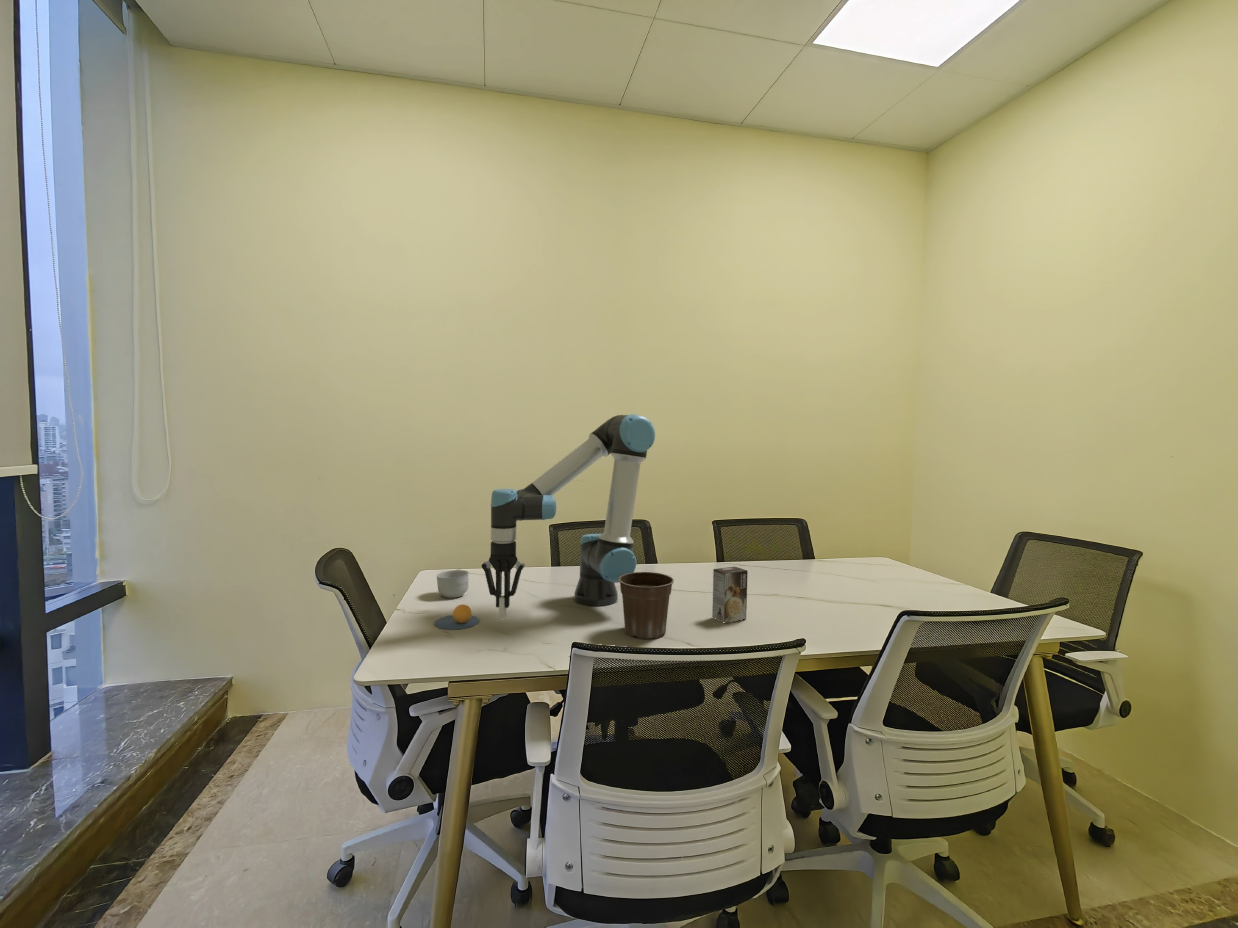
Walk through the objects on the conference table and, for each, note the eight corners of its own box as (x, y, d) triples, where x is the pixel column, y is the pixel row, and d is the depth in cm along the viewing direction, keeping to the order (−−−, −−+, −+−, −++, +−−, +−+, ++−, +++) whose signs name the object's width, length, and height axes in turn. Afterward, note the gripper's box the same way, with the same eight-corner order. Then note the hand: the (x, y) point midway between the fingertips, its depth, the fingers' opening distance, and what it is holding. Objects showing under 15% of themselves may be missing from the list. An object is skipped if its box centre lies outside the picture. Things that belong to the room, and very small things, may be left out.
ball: (463, 623, 178) (477, 612, 177) (458, 629, 172) (472, 618, 172) (452, 609, 178) (466, 598, 177) (446, 614, 172) (460, 603, 172)
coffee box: (734, 613, 190) (735, 565, 188) (746, 619, 184) (748, 570, 183) (711, 617, 185) (713, 568, 184) (723, 623, 180) (725, 573, 179)
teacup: (459, 601, 196) (459, 578, 195) (430, 598, 198) (430, 575, 197) (477, 590, 209) (477, 568, 209) (450, 587, 212) (450, 566, 211)
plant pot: (631, 645, 160) (632, 588, 159) (608, 626, 175) (610, 574, 174) (682, 638, 167) (683, 583, 166) (656, 620, 181) (658, 569, 180)
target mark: (484, 615, 181) (484, 615, 181) (471, 630, 169) (471, 629, 168) (443, 614, 182) (443, 613, 182) (427, 628, 169) (427, 628, 169)
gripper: (527, 539, 176) (526, 614, 178) (485, 537, 177) (484, 612, 179) (522, 544, 169) (521, 622, 171) (478, 542, 169) (477, 621, 171)
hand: (502, 617), depth 175 cm, fingers closed
